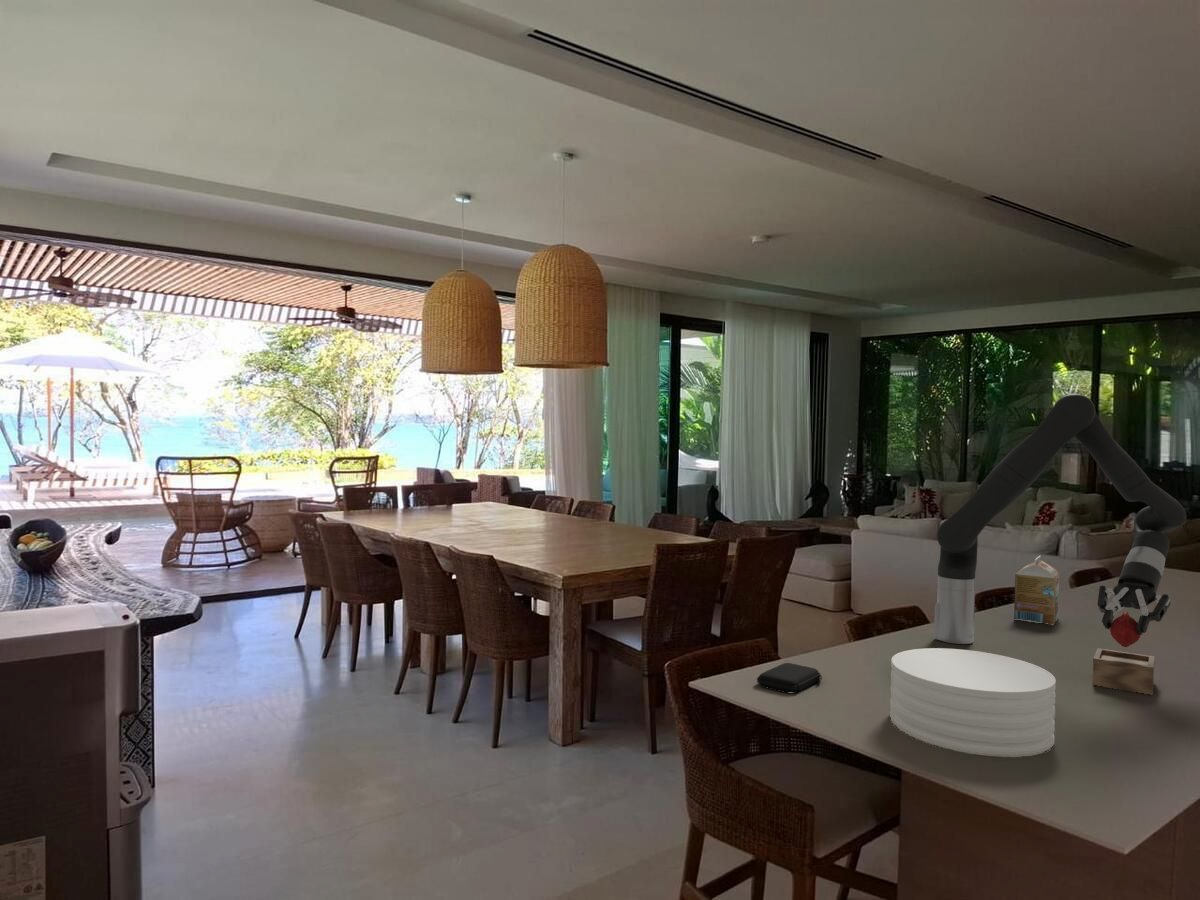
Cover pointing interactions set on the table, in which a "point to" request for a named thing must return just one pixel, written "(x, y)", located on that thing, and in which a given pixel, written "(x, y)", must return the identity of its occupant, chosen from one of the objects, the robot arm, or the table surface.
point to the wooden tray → (1123, 671)
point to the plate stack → (973, 700)
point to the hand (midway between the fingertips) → (1122, 629)
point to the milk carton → (1037, 593)
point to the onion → (1124, 630)
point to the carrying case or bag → (789, 677)
